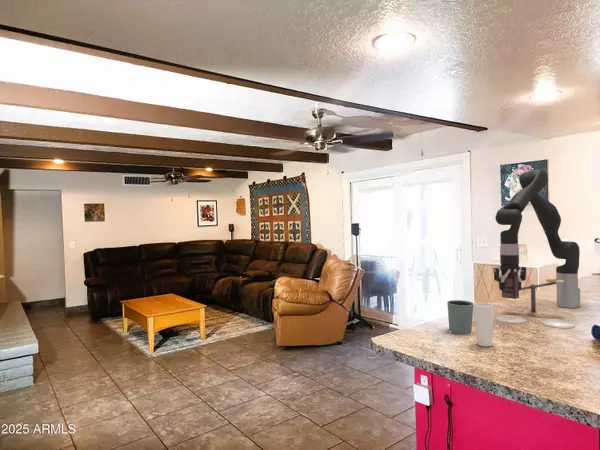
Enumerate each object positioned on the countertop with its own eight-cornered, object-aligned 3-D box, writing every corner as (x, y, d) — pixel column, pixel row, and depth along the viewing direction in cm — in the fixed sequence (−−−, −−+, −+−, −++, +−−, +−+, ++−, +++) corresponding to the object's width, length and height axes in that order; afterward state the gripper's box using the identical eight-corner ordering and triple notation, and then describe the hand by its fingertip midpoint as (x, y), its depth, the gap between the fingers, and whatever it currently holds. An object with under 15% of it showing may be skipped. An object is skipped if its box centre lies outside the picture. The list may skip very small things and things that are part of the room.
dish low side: (516, 316, 185) (516, 314, 185) (531, 323, 173) (531, 321, 173) (490, 317, 185) (490, 315, 185) (504, 324, 173) (504, 322, 173)
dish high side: (562, 320, 176) (562, 318, 176) (581, 328, 164) (581, 325, 164) (535, 321, 176) (535, 319, 176) (553, 329, 164) (553, 326, 164)
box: (519, 297, 178) (519, 271, 178) (515, 299, 175) (514, 272, 175) (505, 296, 183) (505, 270, 183) (501, 297, 180) (500, 271, 180)
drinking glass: (493, 342, 149) (492, 302, 148) (495, 348, 142) (495, 306, 142) (473, 341, 151) (472, 302, 151) (475, 347, 144) (474, 305, 144)
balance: (564, 316, 184) (563, 279, 183) (565, 319, 178) (564, 281, 177) (504, 311, 196) (504, 276, 196) (504, 314, 190) (503, 278, 190)
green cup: (447, 327, 171) (446, 299, 171) (472, 328, 168) (472, 300, 168) (448, 334, 161) (447, 304, 161) (475, 335, 158) (475, 305, 158)
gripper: (520, 252, 183) (521, 288, 183) (489, 253, 183) (490, 289, 183) (530, 253, 175) (530, 291, 176) (498, 254, 175) (498, 292, 175)
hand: (510, 290), depth 179 cm, fingers closed on box, 6 cm apart
